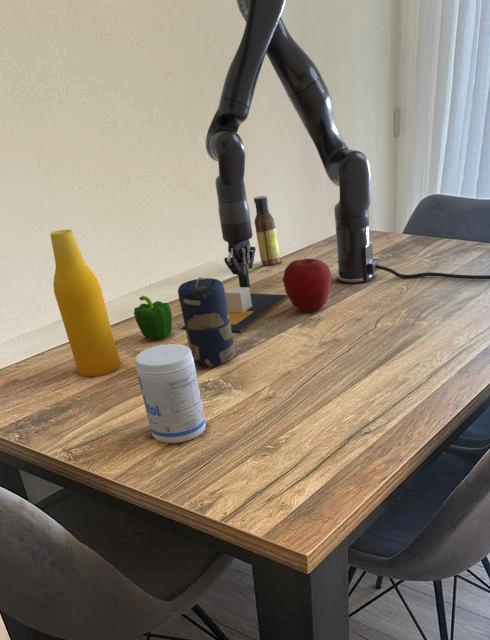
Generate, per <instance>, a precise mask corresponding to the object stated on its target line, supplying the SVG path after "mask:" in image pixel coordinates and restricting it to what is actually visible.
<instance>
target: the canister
mask: <svg viewBox="0 0 490 640" xmlns="http://www.w3.org/2000/svg"><path fill="white" fill-rule="evenodd" d="M225 291H226V290H225V287H224V283H223V282H222V281H221V280H219V279H217V278H210V277H204V278H203V277H198V278H195V279H192V280H188V281H185V282H183V283H181V284H180V285H179V286H178V289H177V294H178V295H177V296H178V300H179V304H180V309H181V315H182V319H183V324H184V326H185V329H184V330H185V334H186V338H187V344H188V348H190V350H191V353H192V356H193V359H194V364H195V365H197V366H201V367H216V366H220V365H223V364H226V363H228V362H230V361H231V360H233V359H234V357H235V355H236V350H235V343H234V338H233V332H232V331H231V324H230V319H229V313H228V308H227V302H226V296H225Z"/></svg>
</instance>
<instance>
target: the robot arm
mask: <svg viewBox="0 0 490 640" xmlns="http://www.w3.org/2000/svg"><path fill="white" fill-rule="evenodd" d="M236 4H237V7H238V10H239V13H240V15H241V17H242V18H243V19H244V21H245V22H246V23H245V26H244V30H243V34H242V37H241V40H240V42H239V45H238V47H237V50H236V52H235V54H234V56H233V58H232V61H231V62H230V65H229V67H228V70H227V73H226V75H225V78H224V82H223V86H222V90H221V94H220V98H219V103H218V107H217V109H216V111H215V113H214V115H213V118H212V120H211V122H210V125H209V127H208V129H207V133H206V137H205V150H206V153H207V155H208V156H209V158H211V159H212V160H214V161H215V162H218V175H217V176H216V178H215V192H216V196H217V203H218V205H217V206H218V216H219V222H220V228H221V235H222V239H223V241H224V242H226V243H227V245H228V246H227V252H228V256H227V257H224V259H223V261H224V263H225V265H226V266H227V267H228V270H230V272H231V274H232V275H236V276H237V278H238V283H239V287H249V289H250V287H251V284H250V283H251V282H250V275H249V274H250V271H251V270H252V269H253V266H254V261H255V255H256V250H257V249H256V247H255V246H251V242H250V240H251V239H252V238H253V228H252V221H251V214H250V208H249V203H248V199H247V192H246V185H245V169H246V168H245V167H246V150H245V145H244V142H243V139H242V137H241V135H239V133H238V131H239V128H240V127H241V125H242V124H243V123H244V122H246V121H247V119H248V116H249V114H250V110H251V108H252V107H251V106H252V103H253V98H254V95H255V90H256V87H257V84H258V81H259V76H260V73H261V70H262V66H263V63H264V61H265V57H266V56H267V58H268V60H269V63H270V64H271V66H272V68H273V70H274V72H275V74H276V76H277V78H278V80H279V81H280V83H281V85H282V87H283V89H284V91H285V93H286V95H287V97H288V99H289V101H290V103H291V105H292V107H293V109H294V110H295V112H296V113H297V115H298V117H299V119H300V121H301V122H302V125H303V126H304V128H305V130H306V132H307V134H308V135H309V137H310V138H311V140H312V143H313V144H314V146H315V149H316V151H317V154H318V156H319V158H320V161H321V163H322V166H323V168H324V171H325V173H326V175H327V177H328V179H329V180H330V181H331V183H332V184H334V185H335V186H336V187H339V200H338V202H337V203H336V204H335V205H334V207H333V210H334V213H333V214H334V224H335V225H334V226H335V227H334V228H335V240H336V253H337V266H338V270H337V275H338V280H339V281H340V282H341V283H345V284H358V283H367V282H369V281H370V280H371V279H373V277H374V276H375V273H376V272H377V271H379V270H381V271H385V272H389V273H391V274H392V275H394V276H395V277H398V278H401V279H414V278H422V277H439V278H447V279H448V278H449V279H450V278H451V279H461V280H462V279H465V280H490V275H489V274H486V275H485V274H484V275H480V274H479V275H478V274H474V275H473V274H453V273H444V272H421V273H413V274H404V273H403V274H402V273H399V272H398V271H396V270H394V269H392V268H390V267H387V266H383V265H380V264H379V263H380V262H379V261H380V259H379V258H374V249H373V248H374V247H373V246H374V245H373V242H372V241H371V237H370V236H371V235H370V216H369V207H370V204H371V198H372V186H371V185H372V180H371V179H372V178H371V177H372V176H371V174H372V173H371V166H370V165H371V164H370V161H369V159H368V157H367V156H366V154H365V153H363V152H362V151H360V150H355V149H349V147H348V145H347V144H346V142H345V141H344V139H343V138H342V136H341V134H340V132H339V130H338V127H337V125H336V121H335V115H334V107H333V103H332V97H331V95H330V91H329V88H328V86H327V84H326V82H325V81H324V79H323V76H322V75H321V72H320V71H319V69H318V67H317V66H316V64H315V62H314V61H313V59H311V57H310V56H309V55H308V54H307V53H306V52H305V51H304V49H302V47H301V46H300V45H299V44H298V43H297V42H296V40H294V38H293V37H292V36H291V34H290V32H289V30H288V29H287V27H286V25H285V22H284V20H283V19H282V18H283V17H282V15H283V13H284V10H285V7H286V4H287V0H236Z"/></svg>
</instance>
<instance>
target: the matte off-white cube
mask: <svg viewBox="0 0 490 640" xmlns="http://www.w3.org/2000/svg"><path fill="white" fill-rule="evenodd" d="M224 291H225V296H226V302H227V308H228V312H242V313H243V312H245V311H246V310H248V309H249V308H251V307H252V303H251V296H250V294H251V289H250V288H249V287H240V286H231V287H230V288H228V289H227V290H224Z"/></svg>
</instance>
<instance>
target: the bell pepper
mask: <svg viewBox="0 0 490 640" xmlns="http://www.w3.org/2000/svg"><path fill="white" fill-rule="evenodd" d="M138 300H140V302H142V301H146V303H140V305H139V306H136V307H134V310H133V315H134V319H135V322H136V324H137V326H138V328H139V330H140V332H141V334H142V336H144V337H145V338H146V339H149V340H151V341H161V340H164V339H166V338H167V337H169V335H171V333H172V331H173V330H172V329H173V313H172V309H171V308H172V307H171V305H170V304H169V303H168V302H162V301H160V300H157V301H155V302H153V301H152V300H151V298H149V297H148V296H145V295H142V296H139V298H138Z"/></svg>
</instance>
